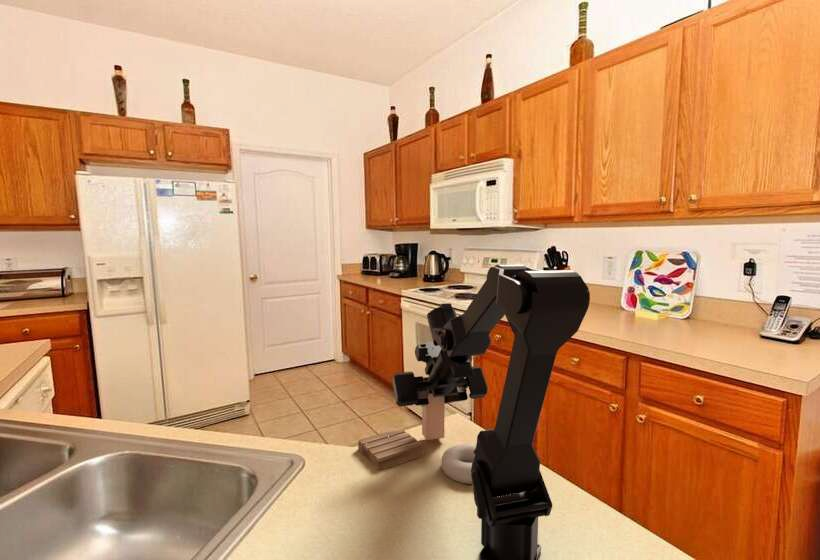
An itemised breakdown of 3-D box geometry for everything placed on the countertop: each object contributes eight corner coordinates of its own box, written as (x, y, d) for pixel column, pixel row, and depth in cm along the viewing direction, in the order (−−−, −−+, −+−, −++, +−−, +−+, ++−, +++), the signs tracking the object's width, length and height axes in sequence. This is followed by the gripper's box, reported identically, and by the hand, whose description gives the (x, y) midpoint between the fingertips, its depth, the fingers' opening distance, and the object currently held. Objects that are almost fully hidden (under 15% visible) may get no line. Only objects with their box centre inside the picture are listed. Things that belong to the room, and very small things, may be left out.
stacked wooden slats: (423, 455, 79) (423, 445, 79) (378, 470, 73) (378, 459, 73) (400, 437, 86) (400, 427, 86) (358, 449, 81) (358, 439, 81)
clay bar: (444, 437, 84) (444, 386, 83) (426, 440, 83) (426, 388, 82) (439, 431, 87) (439, 382, 86) (422, 433, 86) (422, 383, 85)
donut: (457, 494, 67) (507, 479, 71) (457, 474, 67) (507, 461, 71) (431, 464, 76) (476, 453, 80) (431, 447, 76) (476, 436, 80)
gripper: (482, 328, 82) (461, 366, 93) (394, 333, 77) (383, 372, 88) (500, 378, 75) (475, 412, 86) (404, 387, 70) (390, 422, 81)
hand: (431, 403), depth 86 cm, fingers closed on clay bar, 4 cm apart
